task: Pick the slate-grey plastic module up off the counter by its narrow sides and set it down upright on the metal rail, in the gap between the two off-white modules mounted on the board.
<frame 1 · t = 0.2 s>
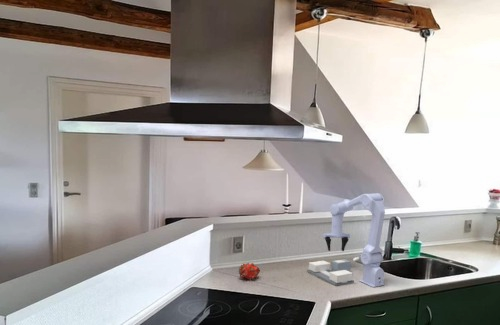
hand: (335, 250, 204), 10 cm above the worktop, tool pointing down, fingers open, 7 cm apart
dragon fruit: (249, 278, 182), on the worktop
rail board: (329, 277, 189), on the worktop
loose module: (340, 272, 197), on the worktop
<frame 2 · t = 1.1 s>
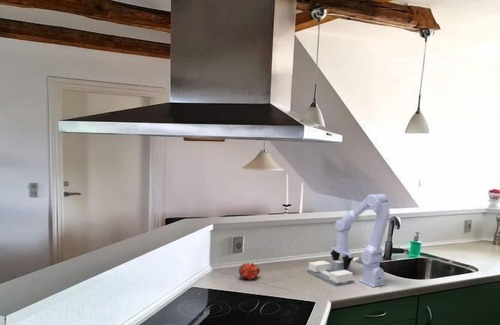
hand: (340, 267, 197), 2 cm above the worktop, tool pointing down, fingers open, 7 cm apart
nothing on the worktop moved.
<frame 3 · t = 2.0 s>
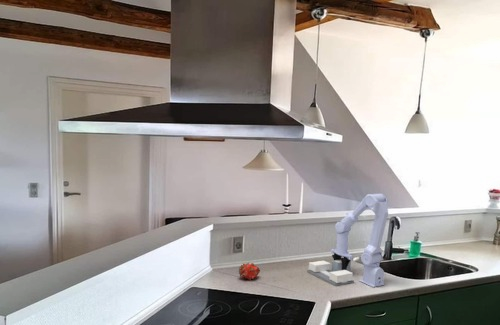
hand: (340, 269, 197), 1 cm above the worktop, tool pointing down, fingers closed on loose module, 4 cm apart
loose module: (340, 272, 197), on the worktop, touching gripper
everything else where it was.
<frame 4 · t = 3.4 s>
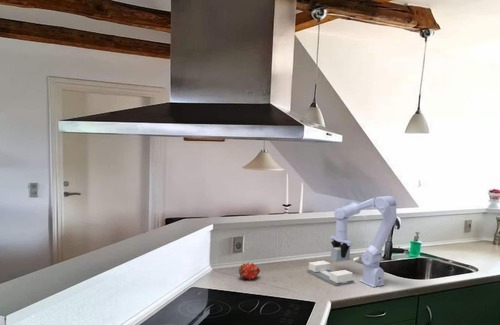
hand: (340, 256, 196), 9 cm above the worktop, tool pointing down, fingers closed on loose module, 4 cm apart
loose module: (340, 259, 196), point 7 cm above the worktop, touching gripper
everything else where it was.
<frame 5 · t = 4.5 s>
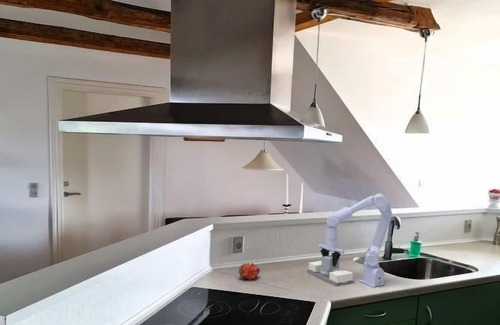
hand: (330, 265, 188), 6 cm above the worktop, tool pointing down, fingers closed on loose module, 4 cm apart
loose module: (330, 268, 189), point 4 cm above the worktop, touching gripper
everything else where it was.
when the fingers open (4 cm above the worktop, at t = 5.3 s): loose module drops 1 cm, resting on rail board.
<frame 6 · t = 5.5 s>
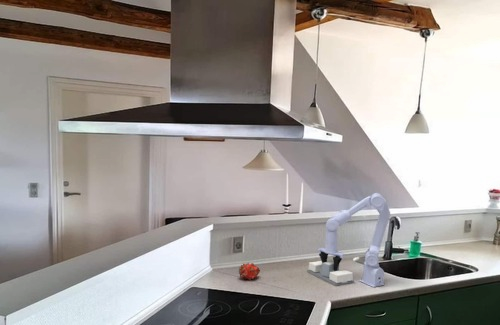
hand: (330, 268, 188), 4 cm above the worktop, tool pointing down, fingers open, 6 cm apart
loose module: (330, 274, 189), point 1 cm above the worktop, touching rail board
everything else where it was.
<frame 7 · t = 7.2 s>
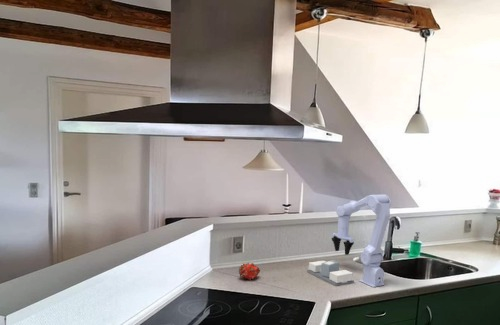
hand: (341, 252, 201), 9 cm above the worktop, tool pointing down, fingers open, 7 cm apart
nothing on the worktop moved.
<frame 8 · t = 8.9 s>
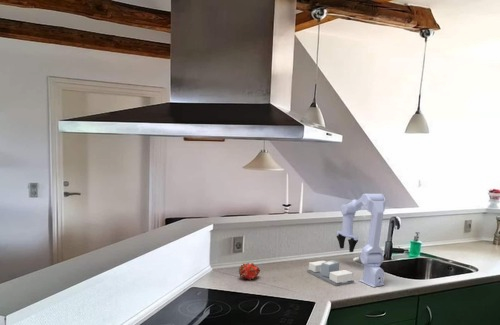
hand: (346, 250, 206), 9 cm above the worktop, tool pointing down, fingers open, 7 cm apart
nothing on the worktop moved.
at the end: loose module 0.3 cm off-centre on the rail board, point 1.4 cm above the rail board's base; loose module tilted 0°; the gripper is holding nothing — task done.
